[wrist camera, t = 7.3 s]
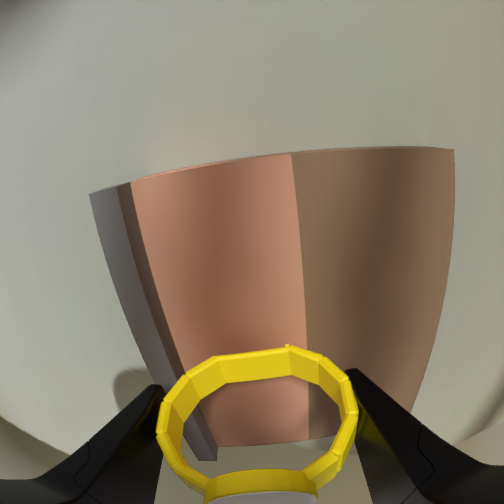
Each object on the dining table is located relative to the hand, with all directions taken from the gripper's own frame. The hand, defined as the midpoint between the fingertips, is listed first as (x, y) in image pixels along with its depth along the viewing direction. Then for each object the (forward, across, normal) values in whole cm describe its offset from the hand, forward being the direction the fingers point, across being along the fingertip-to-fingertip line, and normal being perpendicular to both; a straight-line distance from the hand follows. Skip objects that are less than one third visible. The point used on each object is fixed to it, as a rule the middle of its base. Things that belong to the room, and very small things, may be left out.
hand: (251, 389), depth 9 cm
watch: (+2, 0, 0) cm, 2 cm away
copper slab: (+4, -2, 0) cm, 4 cm away
